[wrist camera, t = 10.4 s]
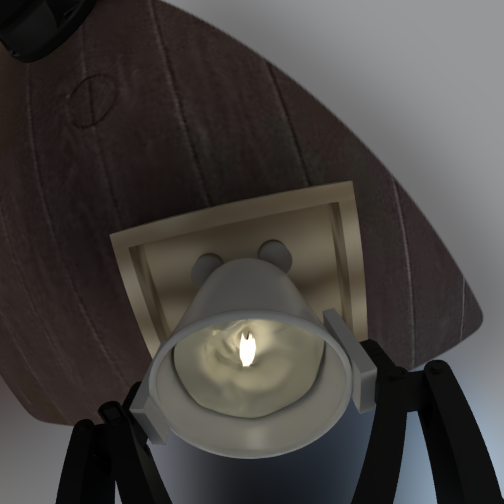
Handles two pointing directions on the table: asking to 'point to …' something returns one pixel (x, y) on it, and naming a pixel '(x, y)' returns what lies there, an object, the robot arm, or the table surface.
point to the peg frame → (247, 254)
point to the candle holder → (250, 366)
